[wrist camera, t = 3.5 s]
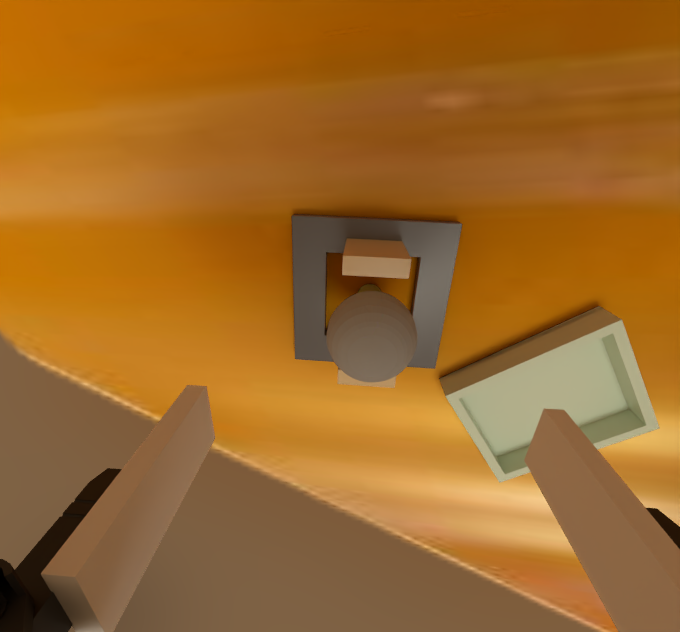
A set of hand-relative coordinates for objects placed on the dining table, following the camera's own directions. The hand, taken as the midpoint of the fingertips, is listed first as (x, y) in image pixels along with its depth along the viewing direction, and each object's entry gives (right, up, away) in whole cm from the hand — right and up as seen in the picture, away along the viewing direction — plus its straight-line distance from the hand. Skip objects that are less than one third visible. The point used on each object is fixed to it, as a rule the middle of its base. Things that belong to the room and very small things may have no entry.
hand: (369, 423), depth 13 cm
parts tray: (+17, -3, +16) cm, 23 cm away
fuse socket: (+1, +6, +14) cm, 15 cm away
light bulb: (+1, +6, +14) cm, 15 cm away
